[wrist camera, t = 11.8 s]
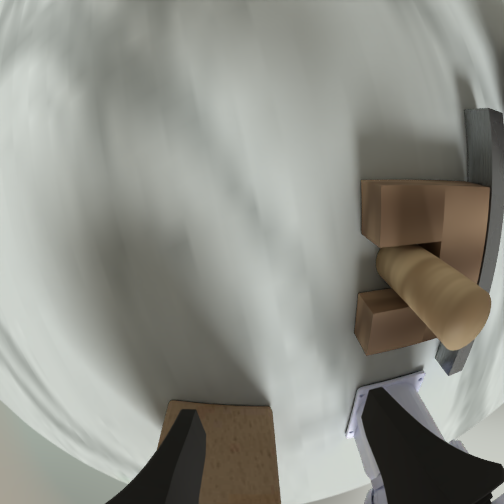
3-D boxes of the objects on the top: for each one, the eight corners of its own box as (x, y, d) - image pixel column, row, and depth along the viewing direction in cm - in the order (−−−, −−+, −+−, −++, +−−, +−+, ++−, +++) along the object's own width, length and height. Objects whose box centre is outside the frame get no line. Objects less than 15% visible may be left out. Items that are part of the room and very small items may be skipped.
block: (447, 312, 21) (464, 328, 18) (354, 332, 21) (366, 355, 18) (465, 181, 17) (489, 187, 14) (361, 179, 17) (380, 185, 14)
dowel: (412, 278, 20) (479, 341, 11) (373, 283, 20) (435, 357, 11) (417, 234, 18) (497, 285, 10) (377, 237, 18) (453, 296, 10)
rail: (448, 353, 23) (461, 370, 20) (435, 358, 23) (448, 375, 20) (478, 113, 15) (502, 113, 12) (464, 109, 15) (488, 108, 12)
